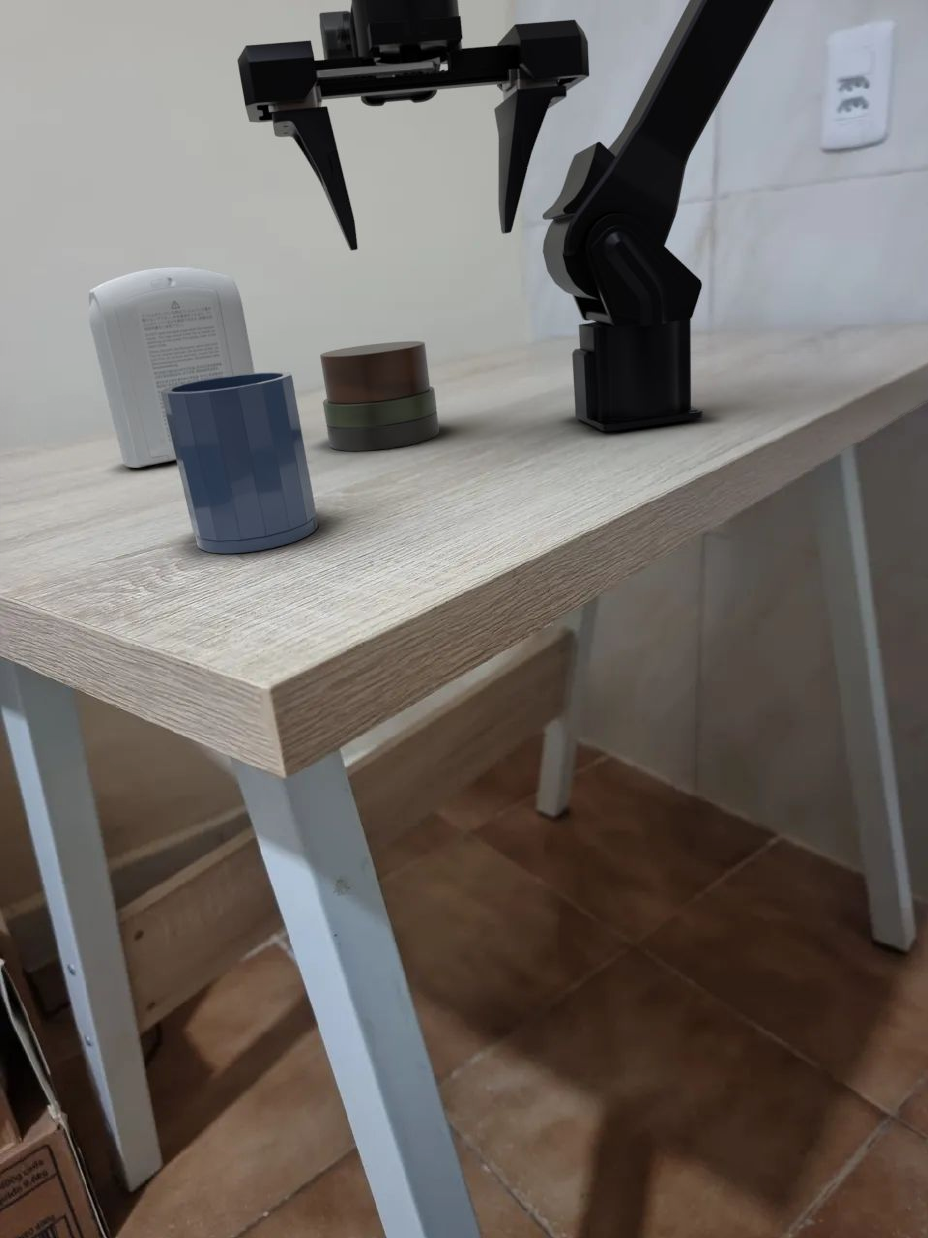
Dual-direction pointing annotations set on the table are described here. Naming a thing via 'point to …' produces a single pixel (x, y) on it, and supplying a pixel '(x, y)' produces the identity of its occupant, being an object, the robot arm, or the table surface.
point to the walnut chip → (375, 372)
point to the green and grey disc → (382, 423)
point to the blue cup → (242, 461)
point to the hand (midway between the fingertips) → (431, 241)
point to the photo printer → (163, 347)
